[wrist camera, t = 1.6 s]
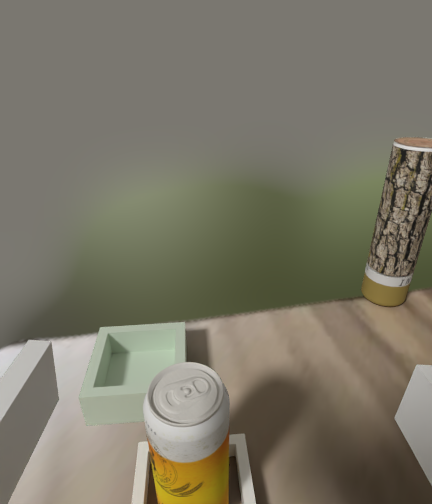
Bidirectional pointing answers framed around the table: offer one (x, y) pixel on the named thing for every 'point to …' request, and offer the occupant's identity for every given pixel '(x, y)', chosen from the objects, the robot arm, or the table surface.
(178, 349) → the socket
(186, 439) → the beer can
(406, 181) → the paper tube
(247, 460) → the collar
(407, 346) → the table surface
